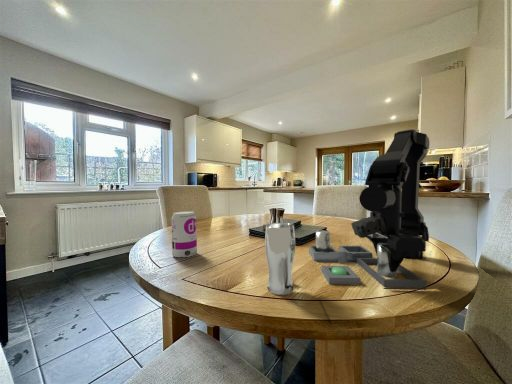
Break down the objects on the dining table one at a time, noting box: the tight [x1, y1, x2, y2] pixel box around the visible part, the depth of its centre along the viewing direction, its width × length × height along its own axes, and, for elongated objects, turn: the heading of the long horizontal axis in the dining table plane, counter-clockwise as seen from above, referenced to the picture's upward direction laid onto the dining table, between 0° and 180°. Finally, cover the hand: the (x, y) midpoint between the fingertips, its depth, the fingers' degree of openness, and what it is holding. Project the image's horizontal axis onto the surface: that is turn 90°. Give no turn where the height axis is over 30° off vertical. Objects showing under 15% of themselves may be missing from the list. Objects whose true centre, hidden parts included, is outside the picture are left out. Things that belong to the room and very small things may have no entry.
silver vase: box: [264, 222, 296, 296], centre depth 49 cm, size 7×7×15 cm
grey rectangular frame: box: [356, 257, 427, 291], centre depth 54 cm, size 9×14×2 cm, turn 177°
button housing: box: [321, 265, 361, 285], centre depth 52 cm, size 7×7×2 cm
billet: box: [376, 243, 398, 279], centre depth 54 cm, size 4×4×8 cm
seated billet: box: [315, 230, 331, 252], centre depth 67 cm, size 4×4×8 cm
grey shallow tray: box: [308, 245, 373, 264], centre depth 67 cm, size 17×10×4 cm, turn 87°
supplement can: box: [171, 210, 198, 258], centre depth 73 cm, size 8×8×15 cm
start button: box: [332, 267, 347, 275], centre depth 52 cm, size 4×4×2 cm
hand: (386, 267), depth 54 cm, fingers closed on billet, 4 cm apart
